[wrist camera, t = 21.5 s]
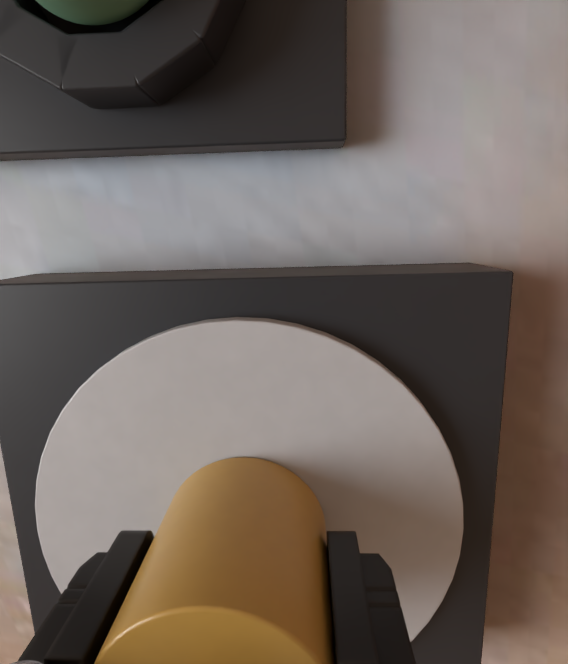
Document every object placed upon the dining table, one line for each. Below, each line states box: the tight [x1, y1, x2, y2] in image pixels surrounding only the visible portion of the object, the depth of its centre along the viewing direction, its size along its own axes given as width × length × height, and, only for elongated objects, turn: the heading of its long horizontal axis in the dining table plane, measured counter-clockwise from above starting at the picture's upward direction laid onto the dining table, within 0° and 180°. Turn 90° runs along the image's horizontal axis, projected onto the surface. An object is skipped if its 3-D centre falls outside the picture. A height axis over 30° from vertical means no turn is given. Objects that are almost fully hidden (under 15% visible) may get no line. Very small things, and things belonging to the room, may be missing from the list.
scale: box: [0, 263, 513, 664], centre depth 14 cm, size 14×14×4 cm
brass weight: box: [94, 457, 335, 664], centre depth 10 cm, size 4×4×6 cm
